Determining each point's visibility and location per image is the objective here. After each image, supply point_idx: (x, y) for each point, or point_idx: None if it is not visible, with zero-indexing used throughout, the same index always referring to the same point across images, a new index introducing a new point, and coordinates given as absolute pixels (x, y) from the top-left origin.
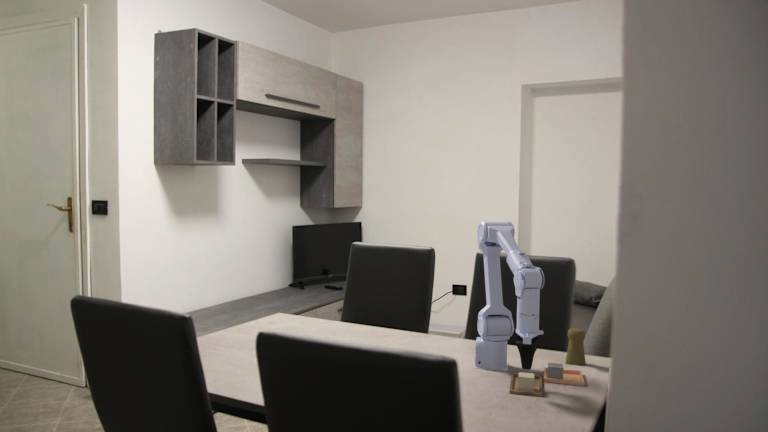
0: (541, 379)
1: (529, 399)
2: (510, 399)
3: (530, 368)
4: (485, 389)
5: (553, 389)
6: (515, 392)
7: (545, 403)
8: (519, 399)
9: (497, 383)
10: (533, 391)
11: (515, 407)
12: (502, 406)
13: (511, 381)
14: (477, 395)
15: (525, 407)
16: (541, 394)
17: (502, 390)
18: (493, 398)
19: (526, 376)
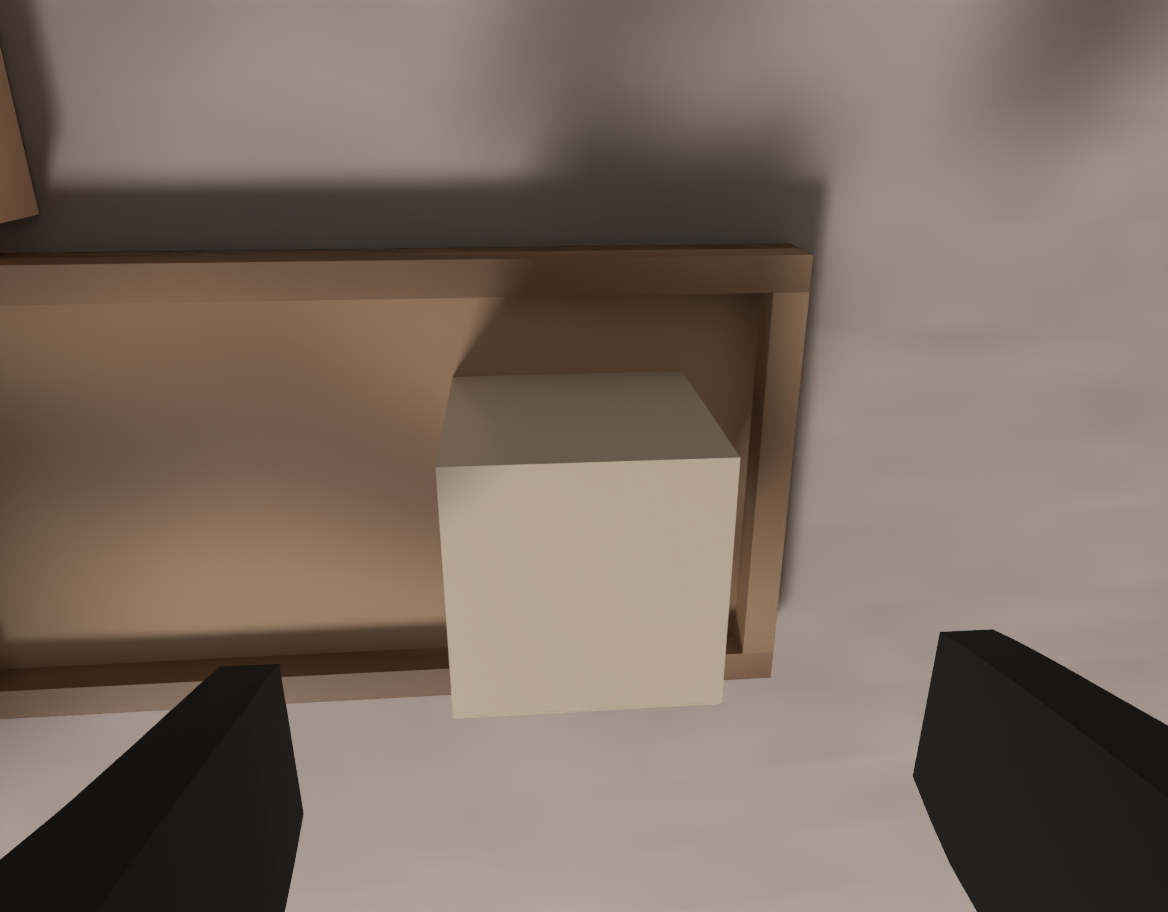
0: (32, 270)
1: (850, 411)
2: (893, 618)
3: (1016, 648)
4: (627, 873)
5: (277, 48)
6: (770, 601)
7: (968, 197)
8: (874, 525)
9: (358, 798)
10: (689, 384)
11: (1143, 549)
12: (1122, 670)
13: (379, 690)
14: (836, 906)
15: (1136, 445)
16: (807, 266)
17: (602, 723)
18: (894, 772)
19: (680, 588)
